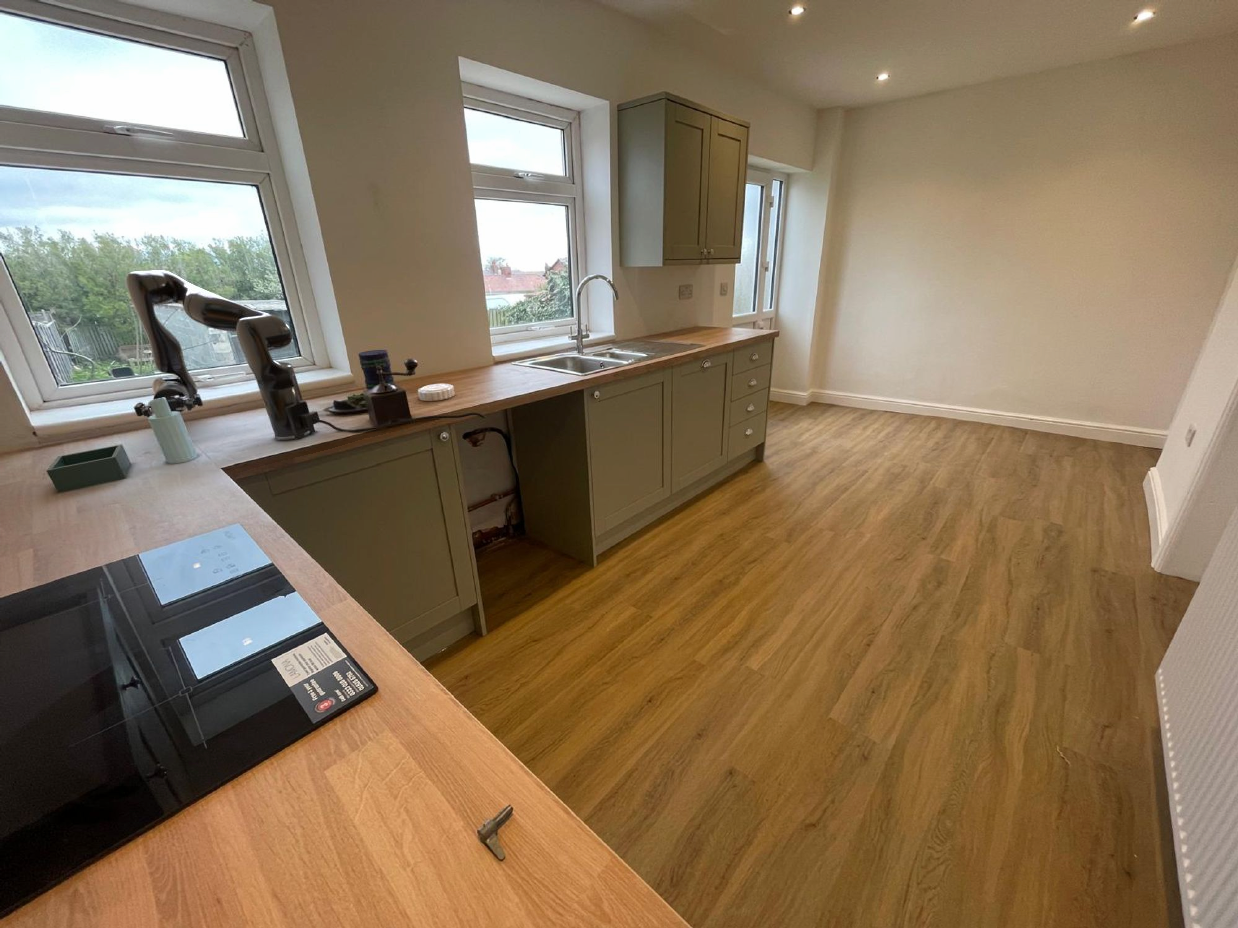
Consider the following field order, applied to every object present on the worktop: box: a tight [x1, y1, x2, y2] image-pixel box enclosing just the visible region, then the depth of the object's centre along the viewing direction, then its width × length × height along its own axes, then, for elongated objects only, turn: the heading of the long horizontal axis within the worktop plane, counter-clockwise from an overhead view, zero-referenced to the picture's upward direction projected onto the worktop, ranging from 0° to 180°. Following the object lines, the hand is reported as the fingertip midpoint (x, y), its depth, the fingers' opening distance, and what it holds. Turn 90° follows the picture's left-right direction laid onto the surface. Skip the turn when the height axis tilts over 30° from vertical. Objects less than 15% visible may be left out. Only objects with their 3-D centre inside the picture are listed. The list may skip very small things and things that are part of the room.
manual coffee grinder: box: [362, 358, 419, 427], centre depth 152 cm, size 16×11×18 cm
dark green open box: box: [45, 443, 132, 493], centre depth 121 cm, size 12×12×6 cm
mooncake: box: [417, 382, 455, 402], centre depth 176 cm, size 12×12×4 cm
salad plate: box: [322, 392, 368, 417], centre depth 168 cm, size 19×18×5 cm
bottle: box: [147, 398, 198, 465], centre depth 128 cm, size 6×6×16 cm
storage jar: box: [357, 349, 396, 390], centre depth 183 cm, size 10×10×15 cm
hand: (168, 410), depth 134 cm, fingers open, 8 cm apart
